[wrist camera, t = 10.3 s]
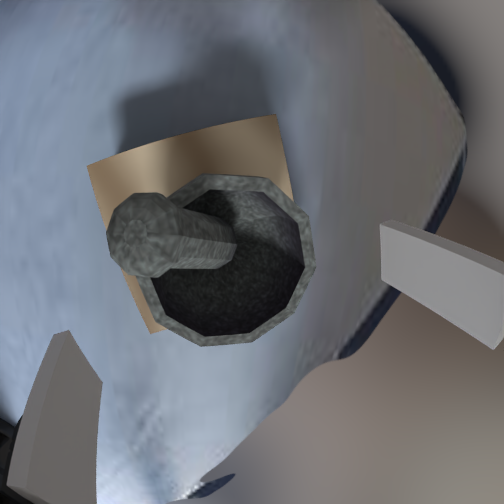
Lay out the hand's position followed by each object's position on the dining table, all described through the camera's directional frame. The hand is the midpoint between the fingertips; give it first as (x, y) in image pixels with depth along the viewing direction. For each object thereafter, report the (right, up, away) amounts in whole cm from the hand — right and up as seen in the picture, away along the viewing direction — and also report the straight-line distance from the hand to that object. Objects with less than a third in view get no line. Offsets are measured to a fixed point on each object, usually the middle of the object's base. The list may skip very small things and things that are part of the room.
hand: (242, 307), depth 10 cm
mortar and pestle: (-3, +4, +10) cm, 12 cm away
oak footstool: (-5, +6, +16) cm, 17 cm away
